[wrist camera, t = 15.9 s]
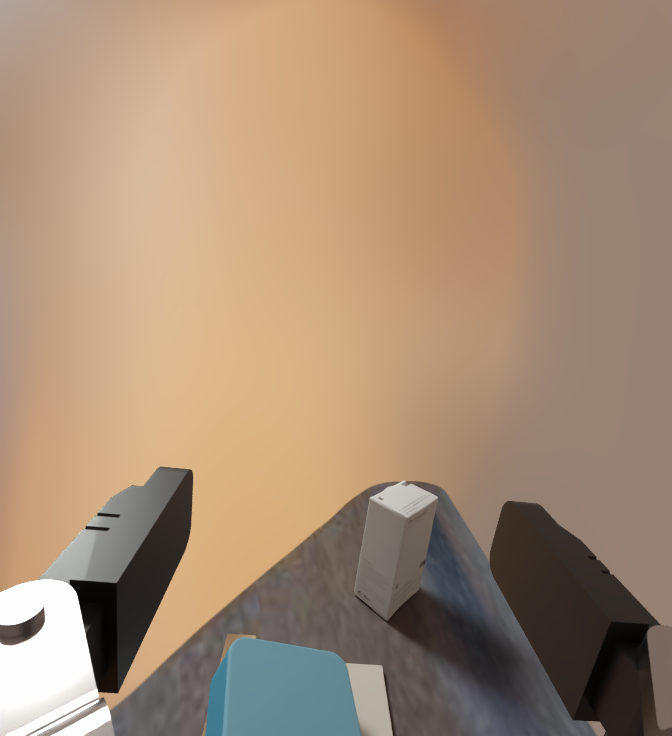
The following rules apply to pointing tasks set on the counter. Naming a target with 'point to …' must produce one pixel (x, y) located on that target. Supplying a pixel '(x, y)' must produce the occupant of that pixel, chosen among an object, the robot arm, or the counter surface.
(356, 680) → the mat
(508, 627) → the counter surface
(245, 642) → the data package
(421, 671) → the counter surface
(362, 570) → the skincare box
